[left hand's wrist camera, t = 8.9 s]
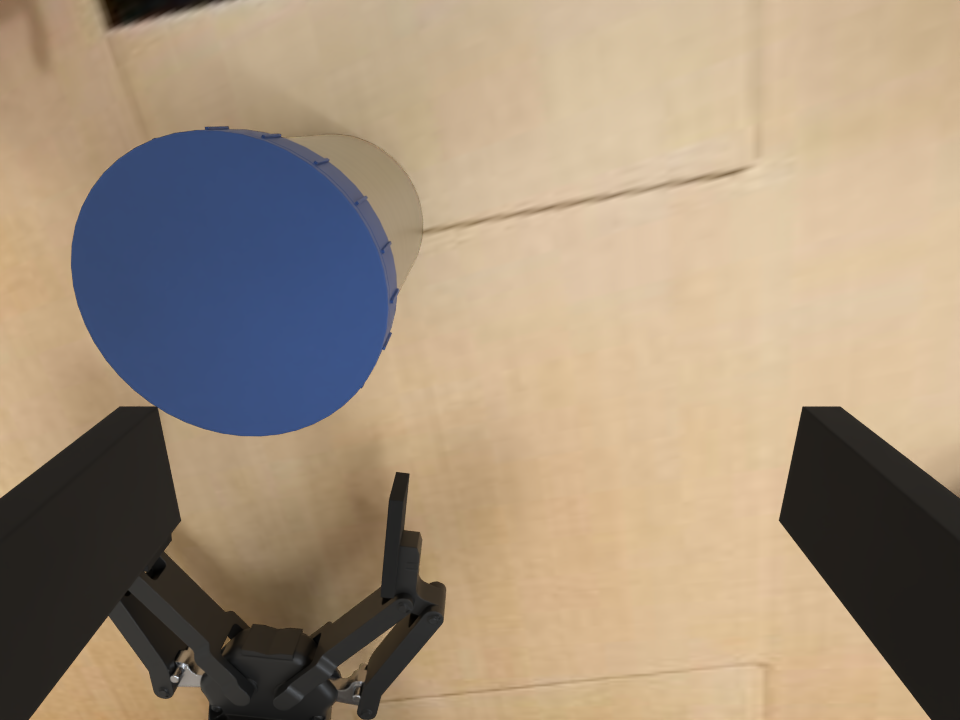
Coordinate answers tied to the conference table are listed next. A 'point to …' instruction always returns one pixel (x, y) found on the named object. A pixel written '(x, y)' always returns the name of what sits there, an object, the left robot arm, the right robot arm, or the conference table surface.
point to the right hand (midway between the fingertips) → (273, 470)
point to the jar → (377, 191)
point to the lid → (234, 279)
